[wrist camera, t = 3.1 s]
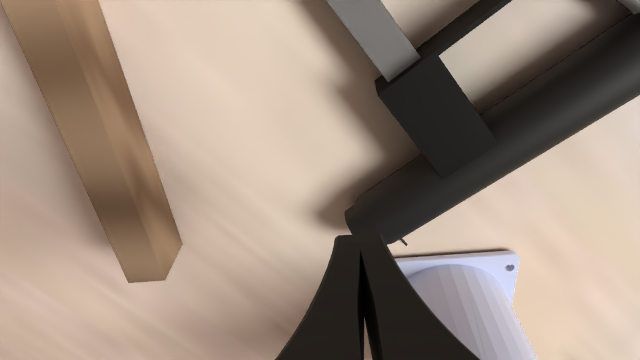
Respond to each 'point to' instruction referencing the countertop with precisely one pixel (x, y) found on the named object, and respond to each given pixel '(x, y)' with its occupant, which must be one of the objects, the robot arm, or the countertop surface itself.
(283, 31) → the countertop surface
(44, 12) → the bar
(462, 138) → the door handle
